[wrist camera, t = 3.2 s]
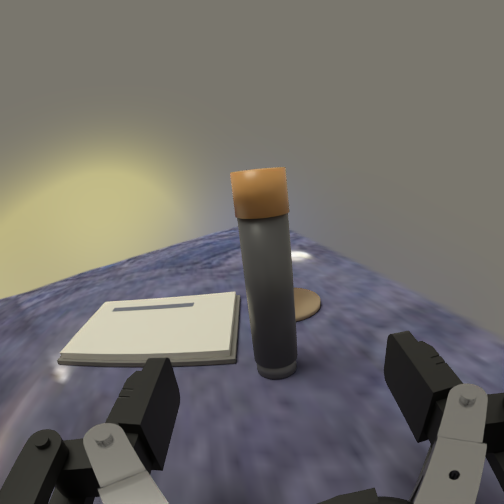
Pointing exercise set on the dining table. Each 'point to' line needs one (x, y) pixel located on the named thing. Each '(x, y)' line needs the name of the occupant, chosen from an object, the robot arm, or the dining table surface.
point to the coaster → (305, 303)
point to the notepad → (159, 332)
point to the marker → (267, 267)
